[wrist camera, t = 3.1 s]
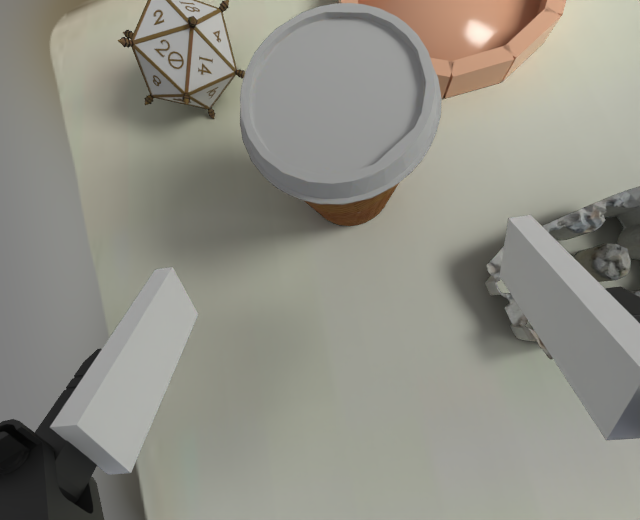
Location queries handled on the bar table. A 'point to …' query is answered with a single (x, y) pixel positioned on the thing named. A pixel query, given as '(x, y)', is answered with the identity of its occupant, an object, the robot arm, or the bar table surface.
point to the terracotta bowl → (475, 36)
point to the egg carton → (601, 261)
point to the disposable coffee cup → (340, 108)
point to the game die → (183, 52)
